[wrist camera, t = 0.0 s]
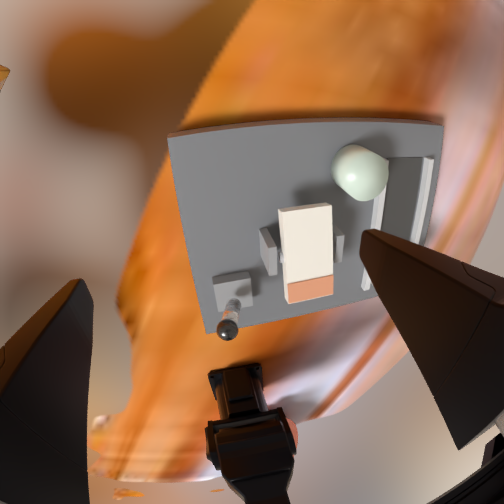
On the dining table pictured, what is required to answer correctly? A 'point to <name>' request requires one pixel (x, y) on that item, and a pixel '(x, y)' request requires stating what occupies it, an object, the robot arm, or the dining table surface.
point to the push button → (359, 172)
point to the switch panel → (292, 204)
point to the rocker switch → (306, 251)
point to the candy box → (3, 75)
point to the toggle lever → (229, 320)
